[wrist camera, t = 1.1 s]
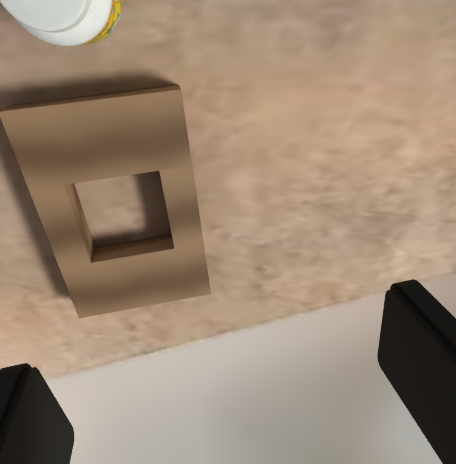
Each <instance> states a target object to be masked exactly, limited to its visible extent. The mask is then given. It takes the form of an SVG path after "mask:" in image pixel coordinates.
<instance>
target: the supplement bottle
mask: <svg viewBox="0 0 456 464" xmlns="http://www.w3.org/2000/svg"><path fill="white" fill-rule="evenodd" d="M0 3H1V4H2V5H3V7H4V8H5V9H6V10H7V11H8V12H9V13H10V14H11V15H12V17H13V18H14V19H15V20H16V21H17V22H18V23H19V25H21V26H22V27H23V28H24V29H25V30H26V31H28V32H29V33H30V34H32V35H33V36H35V37H36V38H38V39H40V40H42V41H45V42H47V43H50V44H54V45H60V46H77V45H82V44H87V43H93V42H97V41H100V40H102V39H104V38H105V37H107V36H108V35H109V34H110V33H111V32H112V31H113V30H114V28H115V26H116V25H117V23H118V21H119V18H120V15H121V11H122V0H0Z"/></svg>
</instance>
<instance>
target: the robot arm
mask: <svg viewBox="0 0 456 464" xmlns="http://www.w3.org/2000/svg"><path fill="white" fill-rule="evenodd" d="M378 362H379V365H380V367H381V369H382V371H383V372H384V374H385V375H386V377H387V378H388V380H389V381H390V383H391V384H392V386H393V388H394V389H395V391H396V392H397V394H398V395H399V397H400V398H401V400H402V401H403V403H404V404H405V406H406V408H407V409H408V410H409V412H410V414H411V415H412V417H413V418H414V420H415V421H416V423H417V425H418V426H419V427H420V429H421V431H422V432H423V434H424V435H425V437H426V438H427V440H428V441H429V443H430V444H431V446H432V448H433V449H434V451H435V452H436V454H437V455H438V457H439V458H440V460H441V461H442V463H443V464H456V318H455V317H454V316H452V314H451V313H450V312H449V311H448V310H447V309H446V308H445V307H444V306H442V304H440V303H439V302H438V301H437V300H436V299H435V298H434V297H433V296H432V295H431V294H430V293H429V292H428V291H427V290H426V289H425V288H424V287H423V286H422V285H421V284H420V283H419V282H418V281H417V280H414V279H413V280H408V281H404V282H399V283H395V284H392V285H391V288H390V290H388V291H387V292H386V294H385V302H384V310H383V317H382V325H381V332H380V340H379V348H378ZM73 444H74V431H73V427H72V425H71V423H70V422H69V420H68V418H67V417H66V415H65V413H64V412H63V410H62V408H61V407H60V405H59V404H58V402H57V400H56V398H55V397H54V395H53V393H52V392H51V390H50V388H49V387H48V385H47V383H46V382H45V380H44V378H43V377H42V375H41V373H40V372H39V370H38V369H37V368H36V367H34V368H32V367H31V366H30V365H29V364H27V363H25V364H20V365H15V366H11V367H6V368H2V369H0V464H70V459H71V454H72V449H73Z"/></svg>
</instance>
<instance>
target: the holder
mask: <svg viewBox="0 0 456 464" xmlns="http://www.w3.org/2000/svg"><path fill="white" fill-rule="evenodd" d="M0 118H1V121H2V123H3V126H4V128H5V131H6V133H7V136H8V138H9V141H10V144H11V146H12V149H13V151H14V154H15V156H16V159H17V161H18V164H19V166H20V169H21V172H22V174H23V177H24V179H25V182H26V184H27V187H28V189H29V192H30V194H31V197H32V200H33V202H34V205H35V207H36V210H37V212H38V215H39V217H40V220H41V223H42V225H43V228H44V230H45V233H46V235H47V238H48V240H49V243H50V245H51V248H52V251H53V253H54V256H55V258H56V261H57V263H58V266H59V268H60V271H61V273H62V276H63V279H64V281H65V284H66V286H67V289H68V291H69V294H70V296H71V299H72V301H73V304H74V307H75V309H76V312H77V314H78V317H79V318H84V317H89V316H94V315H100V314H105V313H111V312H116V311H121V310H127V309H132V308H137V307H143V306H148V305H154V304H159V303H164V302H170V301H175V300H181V299H186V298H191V297H197V296H202V295H208V294H211V291H210V284H209V277H208V271H207V264H206V257H205V250H204V243H203V237H202V230H201V223H200V216H199V209H198V203H197V196H196V189H195V182H194V175H193V169H192V162H191V155H190V148H189V141H188V135H187V128H186V121H185V114H184V107H183V101H182V94H181V89H180V86H179V85H175V86H167V87H158V88H150V89H142V90H134V91H126V92H117V93H109V94H101V95H93V96H84V97H76V98H68V99H60V100H52V101H43V102H35V103H27V104H19V105H11V106H9V107H7V108H5V109H3V110H1V111H0ZM153 171H159V172H160V177H161V182H162V187H163V192H164V197H165V202H166V208H167V213H168V218H169V223H170V228H171V233H172V235H168V236H162V237H156V238H150V239H144V240H138V241H132V242H126V243H120V244H114V245H108V246H102V247H96V248H95V247H94V243H93V240H92V237H91V234H90V231H89V228H88V225H87V222H86V219H85V216H84V213H83V209H82V206H81V203H80V200H79V197H78V194H77V191H76V188H75V185H74V183H78V182H85V181H92V180H99V179H105V178H112V177H119V176H126V175H133V174H140V173H146V172H153Z"/></svg>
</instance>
